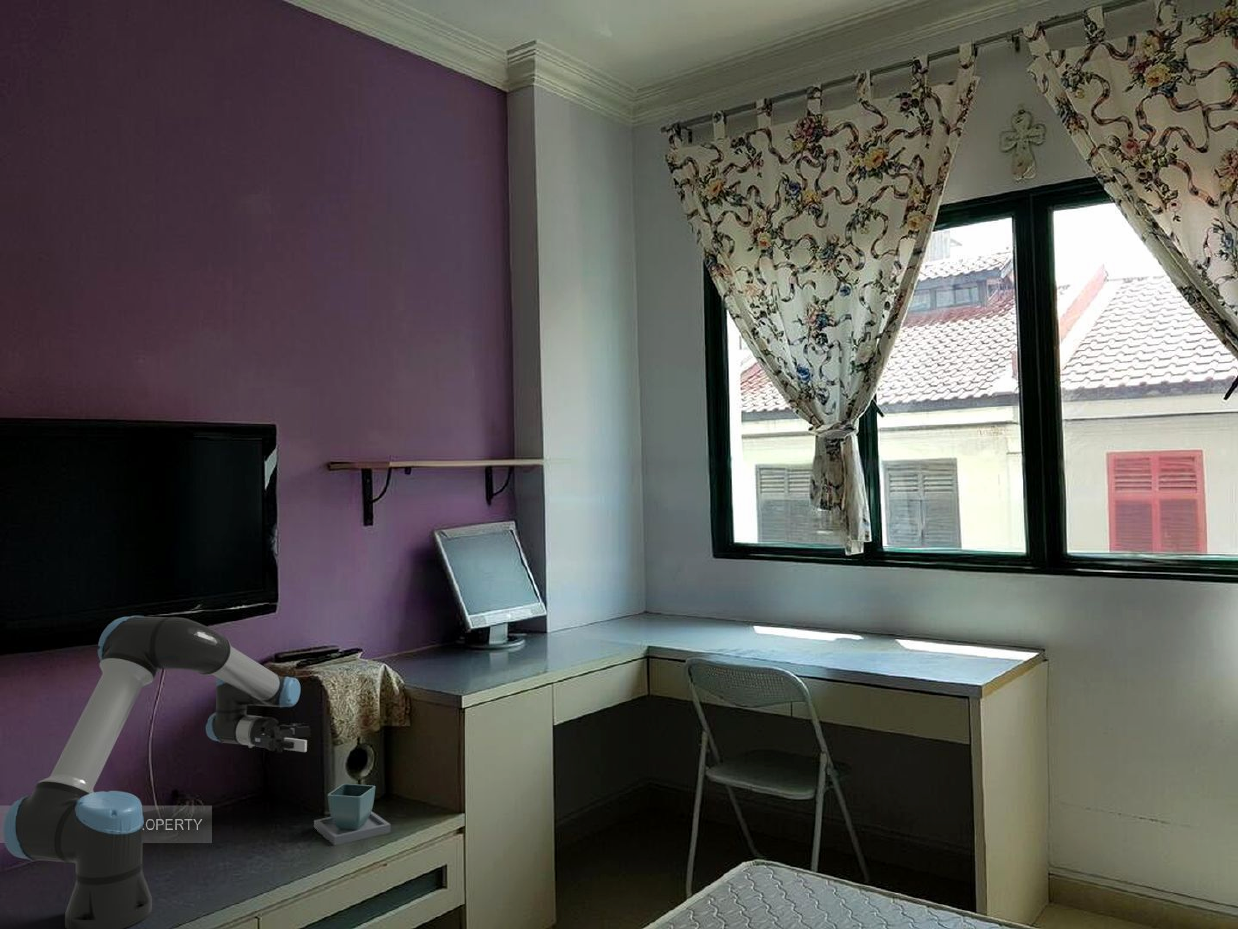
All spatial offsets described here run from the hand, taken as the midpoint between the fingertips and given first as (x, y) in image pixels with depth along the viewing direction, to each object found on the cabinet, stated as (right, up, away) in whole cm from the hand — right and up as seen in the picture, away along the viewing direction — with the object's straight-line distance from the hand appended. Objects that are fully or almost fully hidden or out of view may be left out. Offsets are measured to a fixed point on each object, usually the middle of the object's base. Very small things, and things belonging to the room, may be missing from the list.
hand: (324, 739), depth 241 cm
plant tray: (+8, -21, -4) cm, 23 cm away
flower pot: (+8, -20, -4) cm, 22 cm away
